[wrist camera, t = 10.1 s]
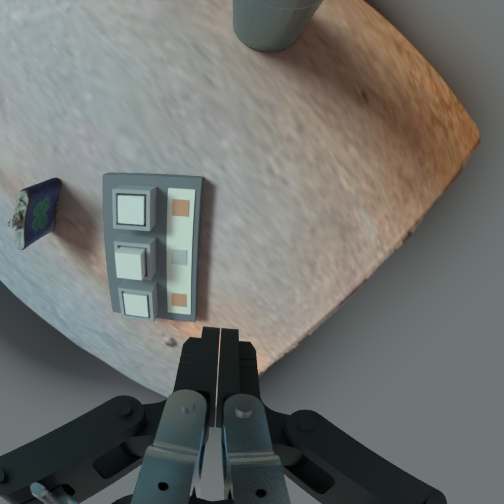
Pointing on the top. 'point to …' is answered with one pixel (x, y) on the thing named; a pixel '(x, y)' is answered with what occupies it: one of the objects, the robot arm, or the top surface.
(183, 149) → the top surface
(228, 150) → the top surface
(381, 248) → the top surface
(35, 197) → the flask
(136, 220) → the button
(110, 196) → the board
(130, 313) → the button
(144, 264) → the button middle
